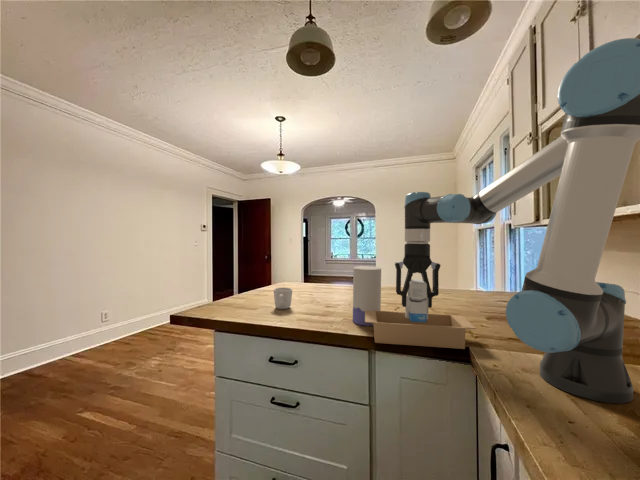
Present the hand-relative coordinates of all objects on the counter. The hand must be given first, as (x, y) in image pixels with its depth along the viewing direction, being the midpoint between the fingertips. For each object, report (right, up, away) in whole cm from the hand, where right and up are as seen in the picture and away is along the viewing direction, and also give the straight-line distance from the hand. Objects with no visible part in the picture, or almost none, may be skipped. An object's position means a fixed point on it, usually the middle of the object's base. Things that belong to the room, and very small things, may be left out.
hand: (416, 317), depth 90 cm
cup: (-46, -5, +32) cm, 56 cm away
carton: (0, -6, +1) cm, 6 cm away
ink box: (0, -1, 0) cm, 1 cm away
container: (-13, -6, +16) cm, 21 cm away
